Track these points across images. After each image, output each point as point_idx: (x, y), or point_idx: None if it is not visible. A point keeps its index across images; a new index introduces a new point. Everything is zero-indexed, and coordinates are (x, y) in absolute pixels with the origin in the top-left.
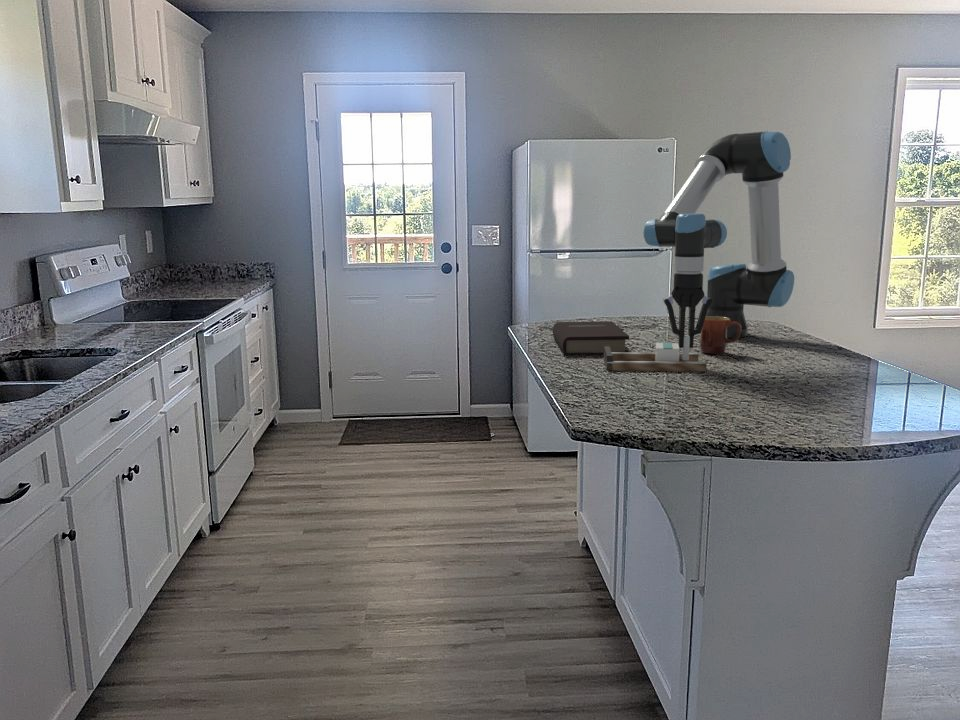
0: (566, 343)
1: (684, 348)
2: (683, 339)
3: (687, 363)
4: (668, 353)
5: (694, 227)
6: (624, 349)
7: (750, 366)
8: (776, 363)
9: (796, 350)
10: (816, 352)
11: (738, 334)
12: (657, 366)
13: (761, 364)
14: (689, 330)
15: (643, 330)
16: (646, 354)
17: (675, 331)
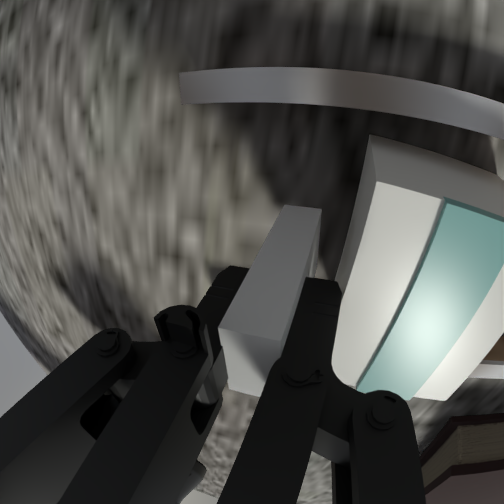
0: None
1: (302, 257)
2: (292, 330)
3: (319, 68)
4: (464, 190)
5: None
6: (460, 434)
7: (55, 192)
8: (21, 231)
9: (39, 336)
10: (15, 312)
11: None
12: None
13: (40, 221)
14: (200, 415)
15: (300, 501)
16: None
17: (387, 414)
